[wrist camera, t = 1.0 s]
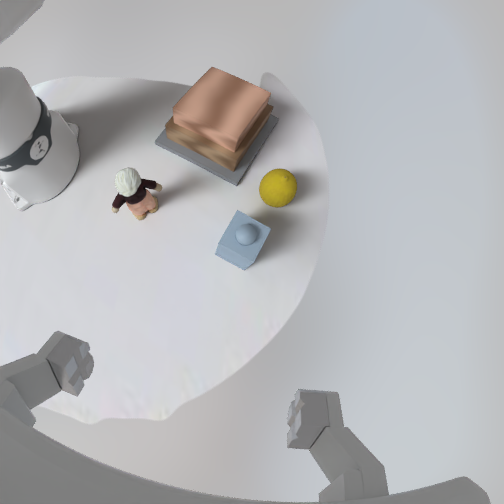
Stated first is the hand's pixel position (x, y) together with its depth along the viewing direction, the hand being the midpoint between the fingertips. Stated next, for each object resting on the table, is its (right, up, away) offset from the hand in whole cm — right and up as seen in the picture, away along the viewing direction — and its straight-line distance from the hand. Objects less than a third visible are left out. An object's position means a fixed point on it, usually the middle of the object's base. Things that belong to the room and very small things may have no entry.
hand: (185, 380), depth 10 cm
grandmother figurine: (-15, +11, +34) cm, 38 cm away
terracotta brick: (-3, +26, +37) cm, 46 cm away
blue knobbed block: (0, +5, +35) cm, 35 cm away
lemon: (+6, +14, +38) cm, 41 cm away
